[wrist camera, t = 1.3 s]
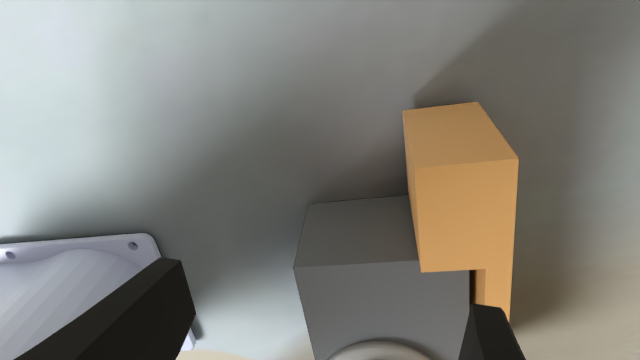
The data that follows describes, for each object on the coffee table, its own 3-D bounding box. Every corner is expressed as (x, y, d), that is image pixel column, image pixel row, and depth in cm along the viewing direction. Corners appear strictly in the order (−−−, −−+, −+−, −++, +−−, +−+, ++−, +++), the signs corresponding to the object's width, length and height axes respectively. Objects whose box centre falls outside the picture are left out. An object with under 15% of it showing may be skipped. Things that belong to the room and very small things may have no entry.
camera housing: (338, 354, 24) (331, 455, 19) (308, 203, 19) (288, 286, 15) (452, 351, 23) (473, 457, 18) (447, 191, 18) (475, 276, 14)
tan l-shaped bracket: (420, 355, 23) (433, 452, 18) (402, 110, 16) (414, 168, 12) (475, 354, 22) (501, 453, 18) (477, 101, 16) (518, 158, 12)
